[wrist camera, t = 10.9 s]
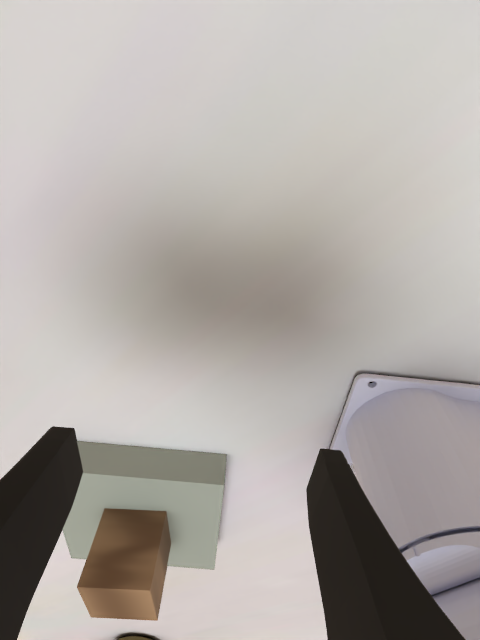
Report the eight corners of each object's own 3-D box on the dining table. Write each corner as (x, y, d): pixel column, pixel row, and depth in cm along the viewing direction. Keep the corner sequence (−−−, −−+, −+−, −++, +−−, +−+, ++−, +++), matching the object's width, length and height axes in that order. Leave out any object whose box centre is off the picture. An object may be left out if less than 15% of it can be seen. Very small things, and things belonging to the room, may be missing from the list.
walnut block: (166, 511, 27) (150, 590, 23) (171, 543, 29) (157, 620, 25) (104, 508, 27) (77, 587, 23) (114, 540, 30) (91, 617, 25)
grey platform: (227, 448, 28) (224, 485, 25) (217, 533, 34) (214, 569, 32) (63, 433, 27) (44, 469, 25) (85, 522, 34) (71, 558, 31)
